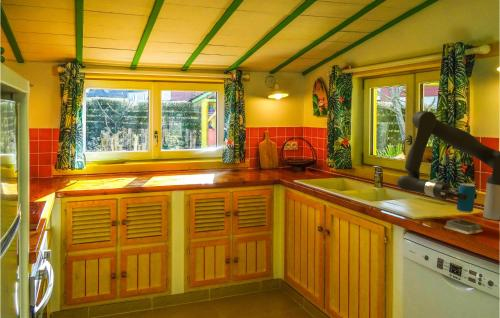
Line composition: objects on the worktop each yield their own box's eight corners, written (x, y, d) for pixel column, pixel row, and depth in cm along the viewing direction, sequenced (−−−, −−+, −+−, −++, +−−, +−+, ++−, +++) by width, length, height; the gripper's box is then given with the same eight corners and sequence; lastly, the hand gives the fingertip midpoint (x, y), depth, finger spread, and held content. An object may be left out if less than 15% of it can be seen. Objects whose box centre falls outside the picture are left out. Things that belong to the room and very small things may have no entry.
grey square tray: (459, 225, 198) (459, 218, 198) (482, 231, 189) (483, 224, 189) (444, 227, 193) (444, 221, 192) (467, 234, 183) (468, 227, 183)
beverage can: (461, 209, 195) (464, 182, 193) (475, 212, 189) (479, 185, 188) (453, 210, 191) (456, 183, 189) (468, 214, 186) (471, 186, 184)
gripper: (428, 182, 197) (462, 189, 183) (447, 180, 205) (482, 187, 191) (426, 198, 198) (460, 206, 184) (446, 196, 206) (480, 204, 191)
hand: (471, 196), depth 187 cm, fingers closed on beverage can, 6 cm apart
